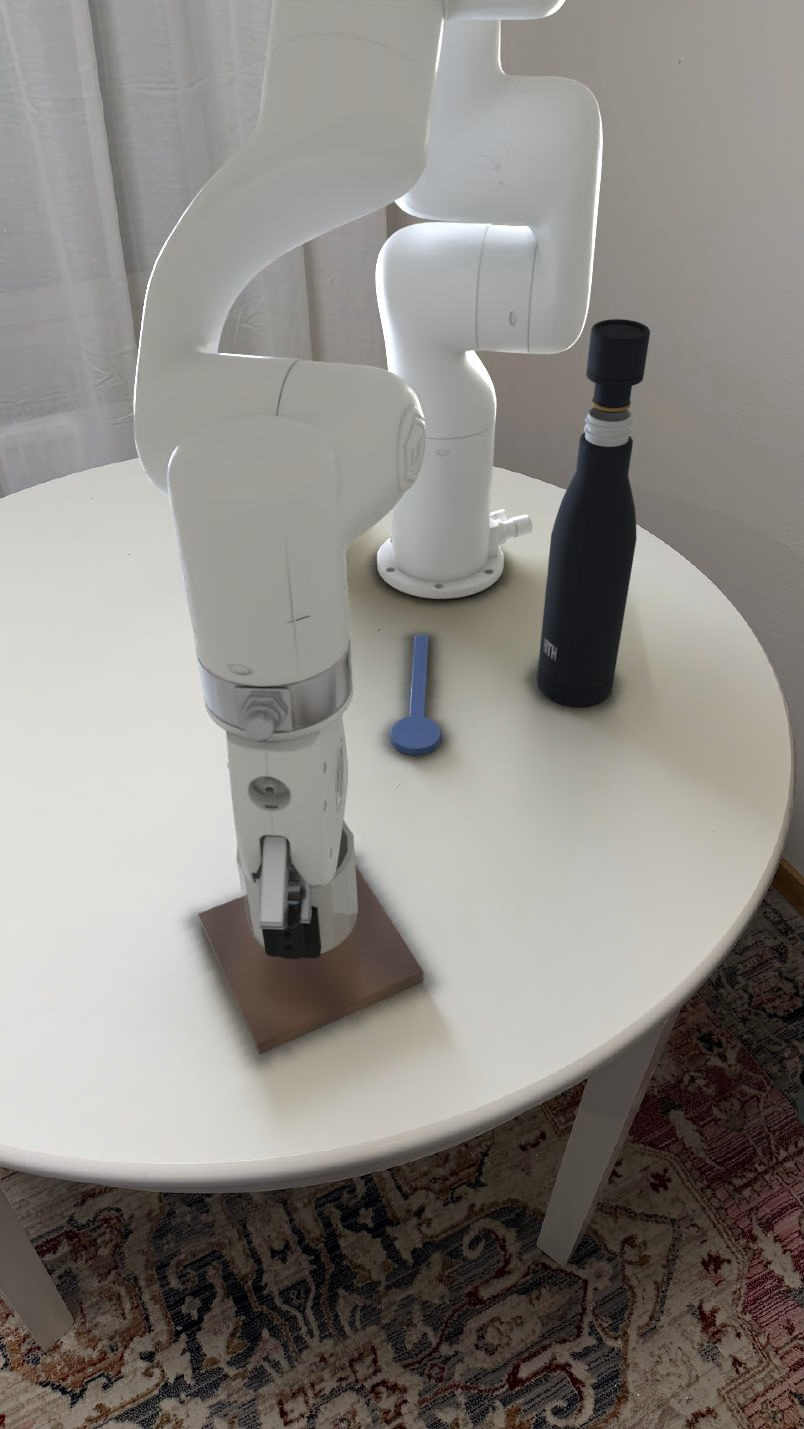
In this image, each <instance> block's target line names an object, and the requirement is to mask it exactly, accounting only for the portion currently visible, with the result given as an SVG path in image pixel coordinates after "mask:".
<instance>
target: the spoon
mask: <svg viewBox="0 0 804 1429" xmlns="http://www.w3.org/2000/svg"><path fill="white" fill-rule="evenodd" d="M413 644H414V646H413V659H412V674H411V686H410V688H411V690H410V704H409V716H407V717H403V718H401V719H399V720H397V721H396V722H395V723H394V724H393V725H392V727H391V729H390V742H391V744H392V746H393V747H394V748H395V749H396V750H398V751H399V752H400V753H403V754H406V755H408V756H409V755H410V756H422V755H426V754H429V753H432V752H433V751H434V750H437V748H439V745H440V743H441V741H442V740H441V739H442V730H441V728H440V726H439V725H438V723H437V722H435V721H434V720H432V719H431V718H428V717H425V714H426V713H425V712H426V711H425V710H426V692H427V673H428V654H429V653H428V652H429V634H415V635H414V643H413Z"/></svg>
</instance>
